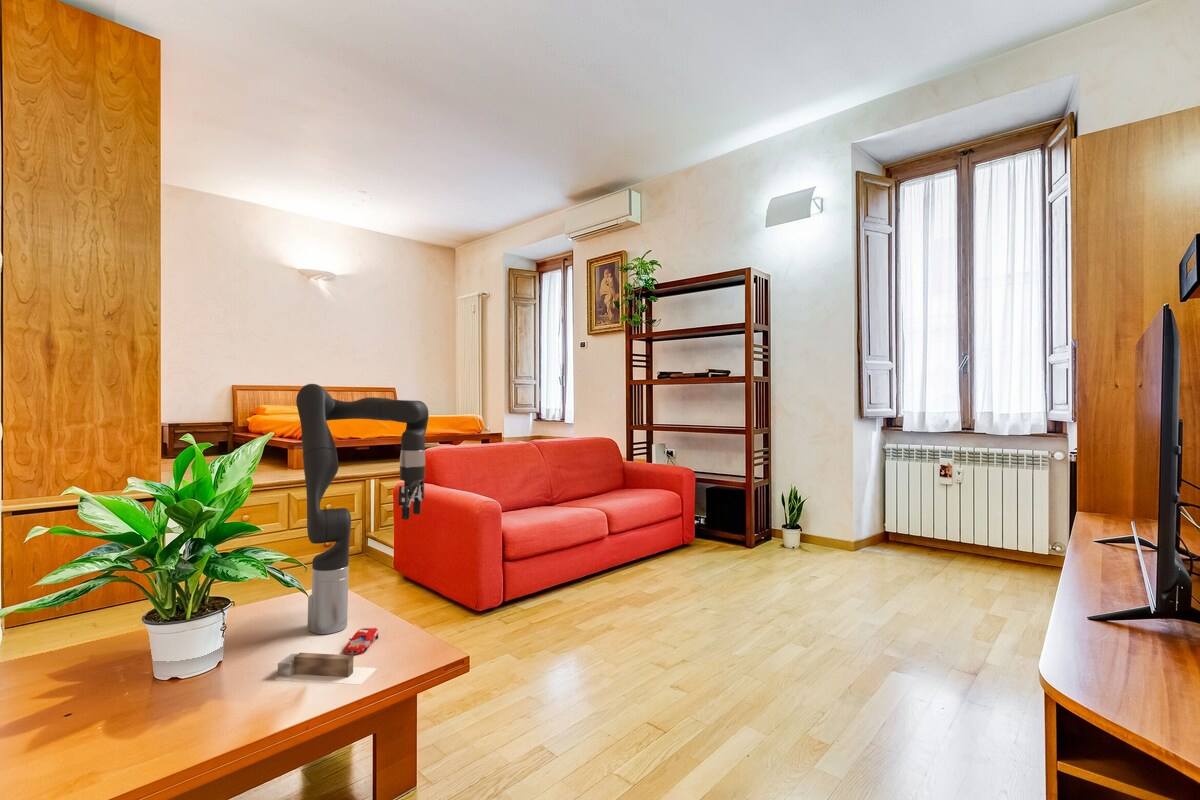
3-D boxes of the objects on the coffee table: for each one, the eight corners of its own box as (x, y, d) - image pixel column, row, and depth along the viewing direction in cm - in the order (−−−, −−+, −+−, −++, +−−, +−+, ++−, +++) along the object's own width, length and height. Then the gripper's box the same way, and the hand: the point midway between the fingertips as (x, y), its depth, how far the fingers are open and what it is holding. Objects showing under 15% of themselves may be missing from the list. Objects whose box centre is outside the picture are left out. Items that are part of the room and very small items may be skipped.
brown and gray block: (277, 676, 131) (277, 658, 131) (290, 666, 136) (291, 649, 136) (345, 680, 130) (345, 662, 130) (356, 670, 135) (356, 652, 135)
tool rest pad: (274, 682, 129) (274, 679, 129) (296, 666, 137) (296, 663, 137) (360, 687, 128) (360, 684, 128) (377, 670, 136) (377, 668, 136)
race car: (362, 659, 142) (362, 643, 142) (340, 659, 142) (340, 643, 142) (381, 637, 156) (382, 623, 156) (361, 637, 155) (362, 622, 155)
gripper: (410, 461, 187) (408, 511, 187) (390, 466, 172) (389, 520, 172) (432, 462, 186) (431, 512, 186) (415, 467, 172) (414, 521, 172)
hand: (411, 516), depth 179 cm, fingers open, 8 cm apart
